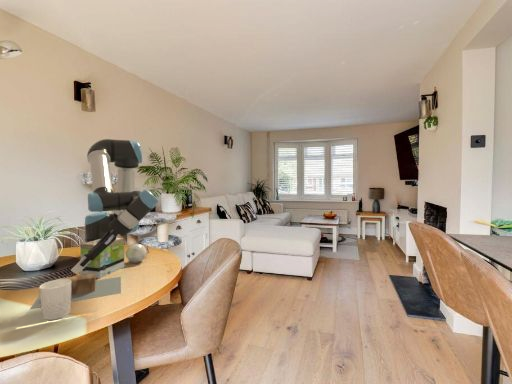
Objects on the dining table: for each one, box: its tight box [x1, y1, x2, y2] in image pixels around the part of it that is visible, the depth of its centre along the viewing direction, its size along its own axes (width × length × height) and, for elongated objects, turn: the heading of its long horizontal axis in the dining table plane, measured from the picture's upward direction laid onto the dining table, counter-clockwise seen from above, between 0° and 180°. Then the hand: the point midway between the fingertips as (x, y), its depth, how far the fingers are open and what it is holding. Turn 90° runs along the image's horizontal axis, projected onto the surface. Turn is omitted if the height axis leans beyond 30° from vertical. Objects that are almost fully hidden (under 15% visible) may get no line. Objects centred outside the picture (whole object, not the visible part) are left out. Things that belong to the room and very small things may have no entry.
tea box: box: [80, 237, 125, 280], centre depth 119 cm, size 15×10×15 cm, turn 168°
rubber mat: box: [29, 276, 122, 310], centre depth 99 cm, size 26×18×1 cm
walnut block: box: [56, 273, 97, 295], centre depth 98 cm, size 5×5×12 cm
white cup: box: [38, 278, 72, 322], centre depth 82 cm, size 8×8×10 cm
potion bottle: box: [125, 243, 150, 263], centre depth 137 cm, size 9×10×15 cm
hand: (74, 271), depth 97 cm, fingers closed
